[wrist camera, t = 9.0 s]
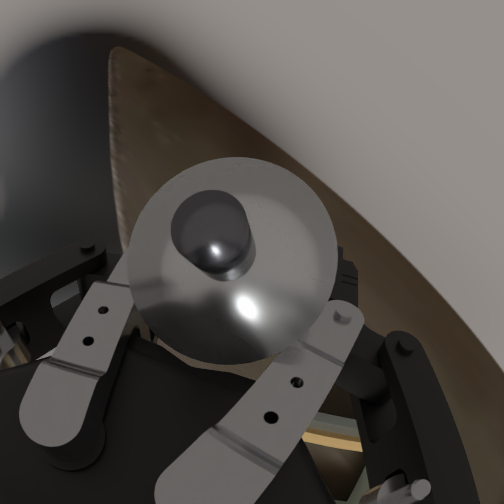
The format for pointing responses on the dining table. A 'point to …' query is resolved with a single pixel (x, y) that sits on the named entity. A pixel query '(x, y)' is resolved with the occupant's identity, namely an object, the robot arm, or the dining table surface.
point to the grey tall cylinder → (232, 260)
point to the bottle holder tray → (338, 444)
